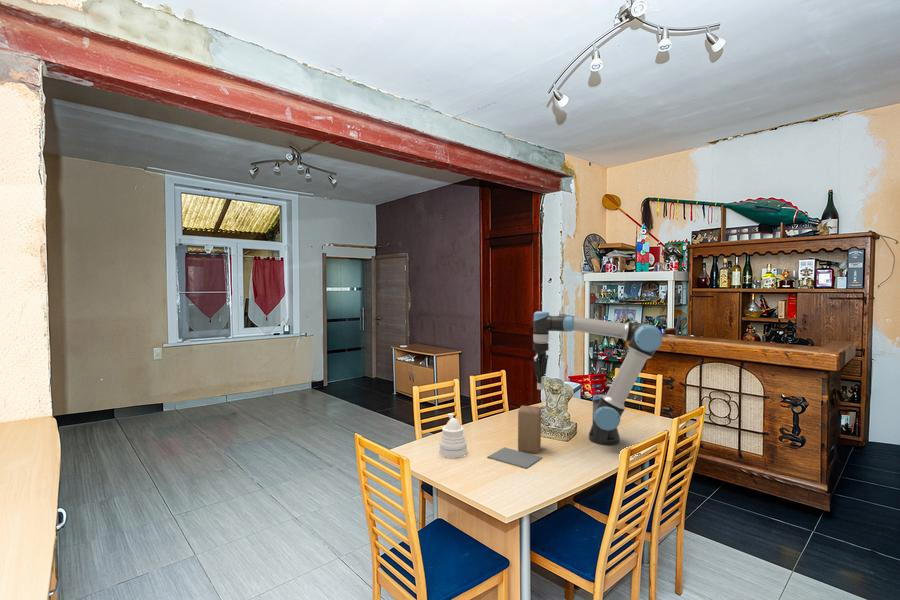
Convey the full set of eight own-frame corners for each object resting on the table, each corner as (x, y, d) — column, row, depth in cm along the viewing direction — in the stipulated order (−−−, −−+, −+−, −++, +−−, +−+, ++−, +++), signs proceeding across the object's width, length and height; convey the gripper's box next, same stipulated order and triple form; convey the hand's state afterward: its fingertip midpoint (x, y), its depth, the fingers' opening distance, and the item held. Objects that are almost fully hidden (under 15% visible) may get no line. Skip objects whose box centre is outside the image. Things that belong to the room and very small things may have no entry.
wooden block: (540, 446, 218) (541, 406, 217) (539, 454, 208) (539, 411, 208) (520, 444, 221) (520, 404, 220) (517, 452, 211) (517, 410, 210)
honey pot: (434, 452, 210) (434, 414, 210) (454, 446, 219) (454, 409, 218) (451, 460, 200) (451, 421, 200) (472, 453, 209) (472, 415, 208)
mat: (542, 458, 203) (542, 457, 203) (526, 468, 191) (526, 467, 191) (504, 448, 215) (504, 447, 215) (487, 457, 204) (487, 456, 204)
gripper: (540, 340, 229) (539, 386, 230) (527, 343, 219) (527, 390, 220) (553, 341, 225) (552, 388, 226) (541, 344, 215) (541, 392, 215)
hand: (540, 389), depth 223 cm, fingers closed
